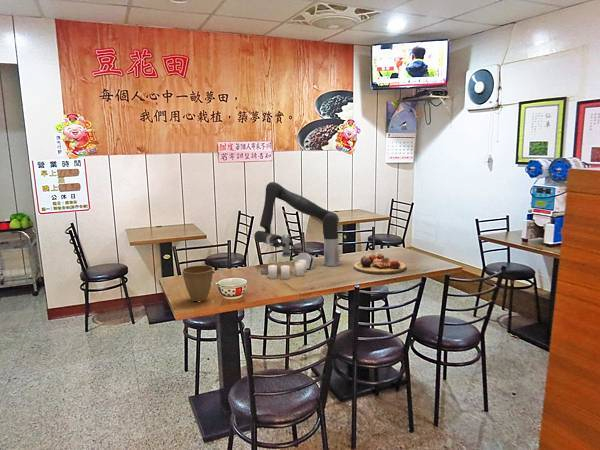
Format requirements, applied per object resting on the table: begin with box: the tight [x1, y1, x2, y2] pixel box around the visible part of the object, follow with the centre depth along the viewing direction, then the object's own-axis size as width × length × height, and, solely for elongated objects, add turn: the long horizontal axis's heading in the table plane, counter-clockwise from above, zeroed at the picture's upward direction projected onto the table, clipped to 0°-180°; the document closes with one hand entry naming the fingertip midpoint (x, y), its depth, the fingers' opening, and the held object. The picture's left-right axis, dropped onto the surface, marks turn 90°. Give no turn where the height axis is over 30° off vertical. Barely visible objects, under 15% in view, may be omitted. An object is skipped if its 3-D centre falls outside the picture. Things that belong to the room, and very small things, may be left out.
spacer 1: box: [267, 264, 278, 280], centre depth 253 cm, size 5×5×7 cm
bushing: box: [281, 234, 292, 258], centre depth 257 cm, size 5×5×12 cm
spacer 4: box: [298, 260, 308, 274], centre depth 264 cm, size 5×5×7 cm
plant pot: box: [181, 265, 214, 302], centre depth 216 cm, size 15×15×16 cm
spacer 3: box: [294, 263, 305, 277], centre depth 257 cm, size 5×5×7 cm
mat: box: [260, 269, 269, 275], centre depth 265 cm, size 8×8×1 cm
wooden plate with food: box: [353, 253, 407, 275], centre depth 268 cm, size 32×32×8 cm
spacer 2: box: [280, 264, 291, 280], centre depth 251 cm, size 5×5×7 cm
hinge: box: [293, 252, 315, 270], centre depth 276 cm, size 17×5×10 cm, turn 27°
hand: (288, 244), depth 255 cm, fingers closed on bushing, 4 cm apart
